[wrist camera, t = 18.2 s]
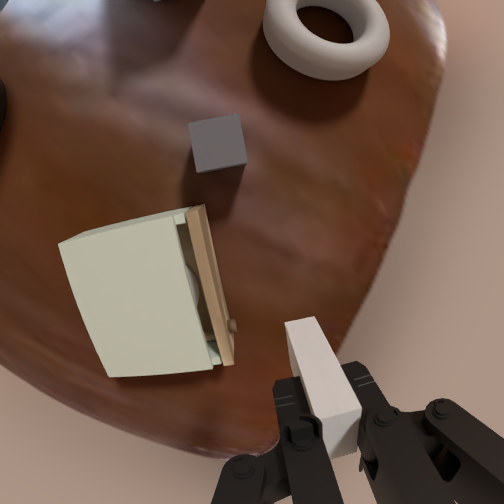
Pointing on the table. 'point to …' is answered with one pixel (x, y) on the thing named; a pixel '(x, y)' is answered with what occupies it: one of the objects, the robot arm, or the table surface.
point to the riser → (217, 143)
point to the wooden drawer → (207, 281)
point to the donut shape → (319, 50)
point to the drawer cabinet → (138, 297)
